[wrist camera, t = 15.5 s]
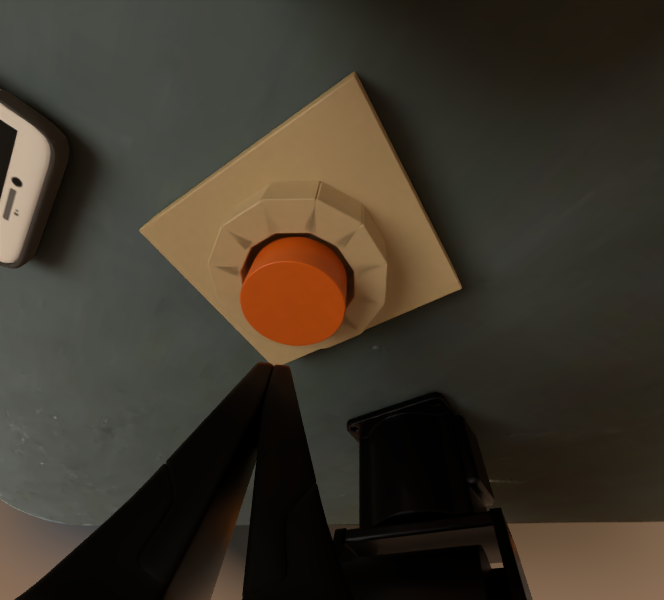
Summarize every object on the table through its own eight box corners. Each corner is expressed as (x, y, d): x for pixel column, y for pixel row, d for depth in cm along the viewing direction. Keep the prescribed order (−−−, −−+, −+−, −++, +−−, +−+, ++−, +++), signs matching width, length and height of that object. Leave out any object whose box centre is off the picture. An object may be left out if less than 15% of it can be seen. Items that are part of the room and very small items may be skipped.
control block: (280, 346, 20) (267, 396, 17) (156, 213, 16) (113, 252, 13) (454, 268, 16) (473, 315, 14) (354, 70, 12) (353, 80, 9)
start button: (289, 329, 15) (282, 359, 14) (232, 264, 13) (216, 291, 12) (364, 293, 14) (365, 323, 12) (312, 217, 12) (305, 241, 11)
